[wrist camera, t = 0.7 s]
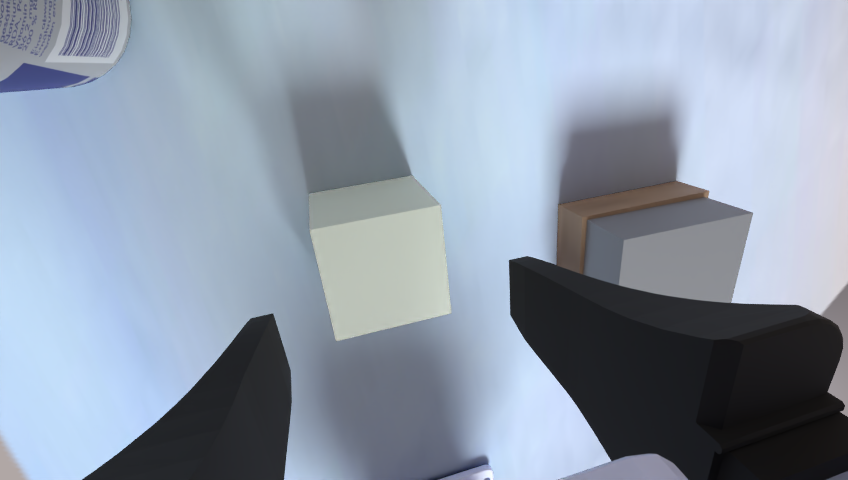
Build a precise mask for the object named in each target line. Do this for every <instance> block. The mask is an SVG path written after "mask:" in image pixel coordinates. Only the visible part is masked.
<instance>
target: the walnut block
mask: <svg viewBox="0 0 848 480" xmlns="http://www.w3.org/2000/svg"><path fill="white" fill-rule="evenodd" d="M708 195H709V191H708V190H704V189H701V188H698V187H695V186H691V185H688V184H685V183H681V182H678V181H674V182H669V183H664V184H659V185H654V186H649V187H644V188H639V189H633V190H628V191H623V192H618V193H613V194H608V195H603V196H598V197H593V198H588V199H583V200H578V201H573V202H568V203H563V204H558V233H557V266H560V267H563V268H566V269H569V270H571V271H574V272H577V273H580V274H583V270H584V256H585V241H586V227H587V220H589V219H594V218H599V217H604V216H609V215H615V214H620V213H625V212H630V211H635V210H640V209H645V208H650V207H655V206H661V205H666V204H671V203H676V202H681V201H686V200H691V199H696V198H701V197H706V198H708Z"/></svg>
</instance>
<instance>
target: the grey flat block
mask: <svg viewBox="0 0 848 480" xmlns="http://www.w3.org/2000/svg"><path fill="white" fill-rule="evenodd" d="M752 215H753V213H752V212H749V211H746V210H743V209H740V208H737V207H734V206H730V205H727V204H724V203H721V202H718V201H715V200H712V199H709V198H706V197H701V198H696V199H691V200H686V201H681V202H676V203H671V204H666V205H661V206H655V207H650V208H645V209H640V210H635V211H630V212H625V213H620V214H615V215H609V216H604V217H599V218H594V219H589V220H587V227H586V241H585V256H584V270H583V275H586V276H589V277H592V278H596V279H599V280H602V281H606V282H609V283H613V284H616V285H620V286H624V287H628V288H632V289H636V290H641V291H646V292H650V293H655V294H661V295H666V296H673V297H680V298H687V299H693V300H702V301H712V302H724V303H731V301H732V297H733V293H734V288H735V284H736V280H737V276H738V272H739V268H740V264H741V260H742V256H743V252H744V248H745V244H746V240H747V236H748V231H749V227H750V223H751V219H752Z"/></svg>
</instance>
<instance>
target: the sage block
mask: <svg viewBox="0 0 848 480" xmlns="http://www.w3.org/2000/svg"><path fill="white" fill-rule="evenodd" d="M309 231H310V235H311V239H312V243H313V247H314V251H315V256H316V260H317V264H318V268H319V272H320V277H321V281H322V285H323V289H324V293H325V297H326V302H327V306H328V310H329V314H330V318H331V323H332V327H333V331H334V335H335V339H336V341H340V340H344V339H348V338H352V337H356V336H361V335H365V334H369V333H373V332H377V331H381V330H385V329H389V328H393V327H398V326H402V325H406V324H410V323H414V322H418V321H422V320H426V319H430V318H434V317H439V316H443V315H447V314H451V305H450V294H449V284H448V274H447V263H446V253H445V242H444V232H443V222H442V211H441V205H440V204H439V203H438V202H437V200H436V199H435V198H434V197H433V196H432V195H431V194H430V193H429V192H428V191H427V190H426V189H425V188H424V187H423V186H422V185H421V184H420V183H419V182H418V181H417V180H416V179H415V178H414V177H413V176H406V177H400V178H395V179H389V180H383V181H377V182H372V183H366V184H360V185H355V186H349V187H343V188H337V189H332V190H326V191H320V192H314V193H309Z"/></svg>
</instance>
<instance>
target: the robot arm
mask: <svg viewBox="0 0 848 480" xmlns="http://www.w3.org/2000/svg"><path fill="white" fill-rule="evenodd" d="M509 275H510V315H511V317H512V318H513V320H514V322H515V324H516V325H517V327H518V329H519V331H520V332H521V334H522V335H523V337H524V339H525V340H526V342H527V343H528V344H529V345H530V347H531V348H532V349H533V350H534V352H535V353H536V354H537V356H538V357H539V358H540V359H541V361H542V362H543V363H544V364H545V365H546V367H547V368H548V369H549V370H550V372H551V373H552V374H553V375H554V377H555V378H556V379H557V380H558V382H559V383H560V384H561V385H562V387H563V388H564V389H565V390H566V391H567V393H568V394H569V395H570V397H571V398H572V400H573V401H574V402H575V404H576V405H577V407H578V408H579V410H580V411H581V413H582V414H583V416H584V417H585V419H586V420H587V422H588V424H589V425H590V427H591V428H592V430H593V431H594V433H595V435H596V436H597V438H598V440H599V441H600V443H601V444H602V446H603V448H604V449H605V451H606V453H607V454H608V456H609V458H610V459H611V462H608V463H605V464H602V465H599V466H596V467H594V468H591V469H588V470H585V471H582V472H579V473H576V474H573V475H570V476H567V477H564V478H561V479H558V480H848V417H847V416H845V415H843V414H842V413H841V412H840V411H843V410H844V407H845V405H844V403H843V402H842V401H841V400H839V399H838V398H836V397H834V396H833V395H831V394H830V393H828V392H827V391H828V389H829V386H830V383H831V381H832V379H833V376H834V373H835V371H836V368H837V365H838V363H839V360H840V357H841V353H842V349H843V337H842V334H841V332H840V329H839V327H838V325H836V324H835V323H833V322H832V321H831V320H829V319H827V318H824V317H822V316H820V315H818V314H816V313H814V312H812V311H810V310H808V309H806V308H804V307H801V306H798V305H768V304H738V303H724V302H712V301H702V300H693V299H687V298H680V297H673V296H666V295H661V294H655V293H650V292H646V291H641V290H636V289H632V288H628V287H624V286H620V285H616V284H613V283H609V282H606V281H602V280H599V279H596V278H592V277H589V276H586V275H583V274H580V273H577V272H574V271H571V270H569V269H566V268H563V267H560V266H557V265H554V264H551V263H548V262H545V261H542V260H539V259H536V258H532V257H528V256H526V257H522V258H517V259H513V260H509ZM291 403H292V398H291V371H290V367H289V364H288V361H287V357H286V354H285V351H284V347H283V344H282V341H281V338H280V334H279V331H278V328H277V325H276V321H275V318H274V315H273V314H268V315H264V316H259V317H255V318H251V319H250V320H249V321H248V322H247V323H246V325H245V326H244V327H243V328H242V330H241V331H240V332H239V334H238V335H237V336H236V337H235V339H234V340H233V341H232V342H231V344H230V345H229V346H228V347H227V349H226V350H225V351H224V352H223V354H222V355H221V356H220V357H219V359H218V360H217V361H216V362H215V363H214V364H213V366H212V367H211V368H210V369H209V370H208V371H207V372H206V373H205V374H204V376H203V377H202V378H201V379H200V380H199V381H198V382H197V383H196V384H195V386H194V387H193V388H192V389H191V390H190V391H189V392H188V393H187V394H186V395H185V396H184V397H183V398H182V399H181V400H180V401H179V402H178V403H177V404H176V405H175V406H174V407H173V408H172V409H170V410H169V411H168V412H167V413H166V414H165V415H164V416H163V417H162V418H161V419H160V420H158V421H157V422H156V423H155V424H154V425H153V426H151V427H150V428H149V429H148V430H147V431H145V432H144V433H143V434H142V435H140V436H139V437H138V438H137V439H135V440H134V441H133V442H132V443H131V444H129V445H128V446H127V447H126V448H124V449H123V450H122V451H121V452H119V453H118V454H117V455H116V456H114V457H113V458H112V459H110V460H109V461H107V462H106V463H105V464H103V465H102V466H101V467H99V468H98V469H97V470H95V471H94V472H92V473H91V474H89V475H88V476H87V477H85V478H84V479H82V480H284V473H285V463H286V453H287V444H288V434H289V424H290V414H291ZM438 480H494V478H493V470H492V468H491V466H489V465H482V466H479V467H476V468H473V469H469V470H466V471H463V472H460V473H457V474H454V475H451V476H448V477H445V478H442V479H438Z"/></svg>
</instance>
